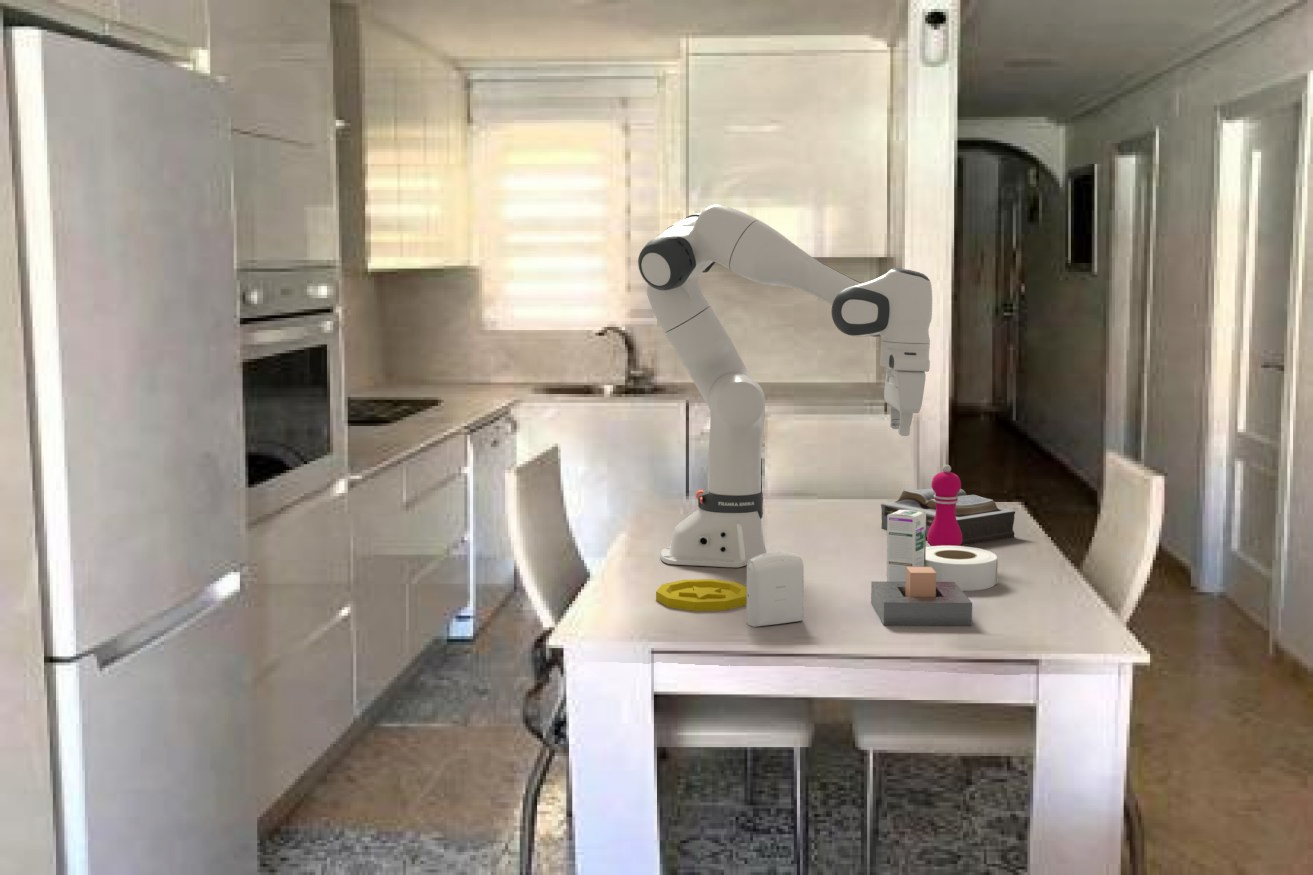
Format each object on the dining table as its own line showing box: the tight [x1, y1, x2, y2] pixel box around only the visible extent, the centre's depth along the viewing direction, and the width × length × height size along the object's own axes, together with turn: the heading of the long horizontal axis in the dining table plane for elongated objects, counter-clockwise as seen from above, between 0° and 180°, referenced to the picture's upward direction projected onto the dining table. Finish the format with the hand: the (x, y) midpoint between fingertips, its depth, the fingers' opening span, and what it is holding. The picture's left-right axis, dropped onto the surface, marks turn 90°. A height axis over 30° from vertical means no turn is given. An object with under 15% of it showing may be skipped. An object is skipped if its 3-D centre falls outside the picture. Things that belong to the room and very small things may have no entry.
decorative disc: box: [655, 578, 747, 612], centre depth 245 cm, size 17×18×2 cm
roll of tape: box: [925, 545, 999, 592], centre depth 258 cm, size 16×16×6 cm
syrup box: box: [886, 510, 927, 582], centre depth 253 cm, size 6×6×14 cm
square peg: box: [905, 567, 936, 597], centre depth 234 cm, size 4×4×8 cm
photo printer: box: [746, 551, 805, 628], centre depth 228 cm, size 10×4×12 cm, turn 112°
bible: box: [880, 488, 1016, 546], centre depth 304 cm, size 23×27×10 cm
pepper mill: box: [926, 464, 962, 547], centre depth 276 cm, size 7×7×20 cm
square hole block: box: [870, 580, 973, 627], centre depth 234 cm, size 15×15×4 cm
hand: (899, 432), depth 246 cm, fingers open, 8 cm apart
